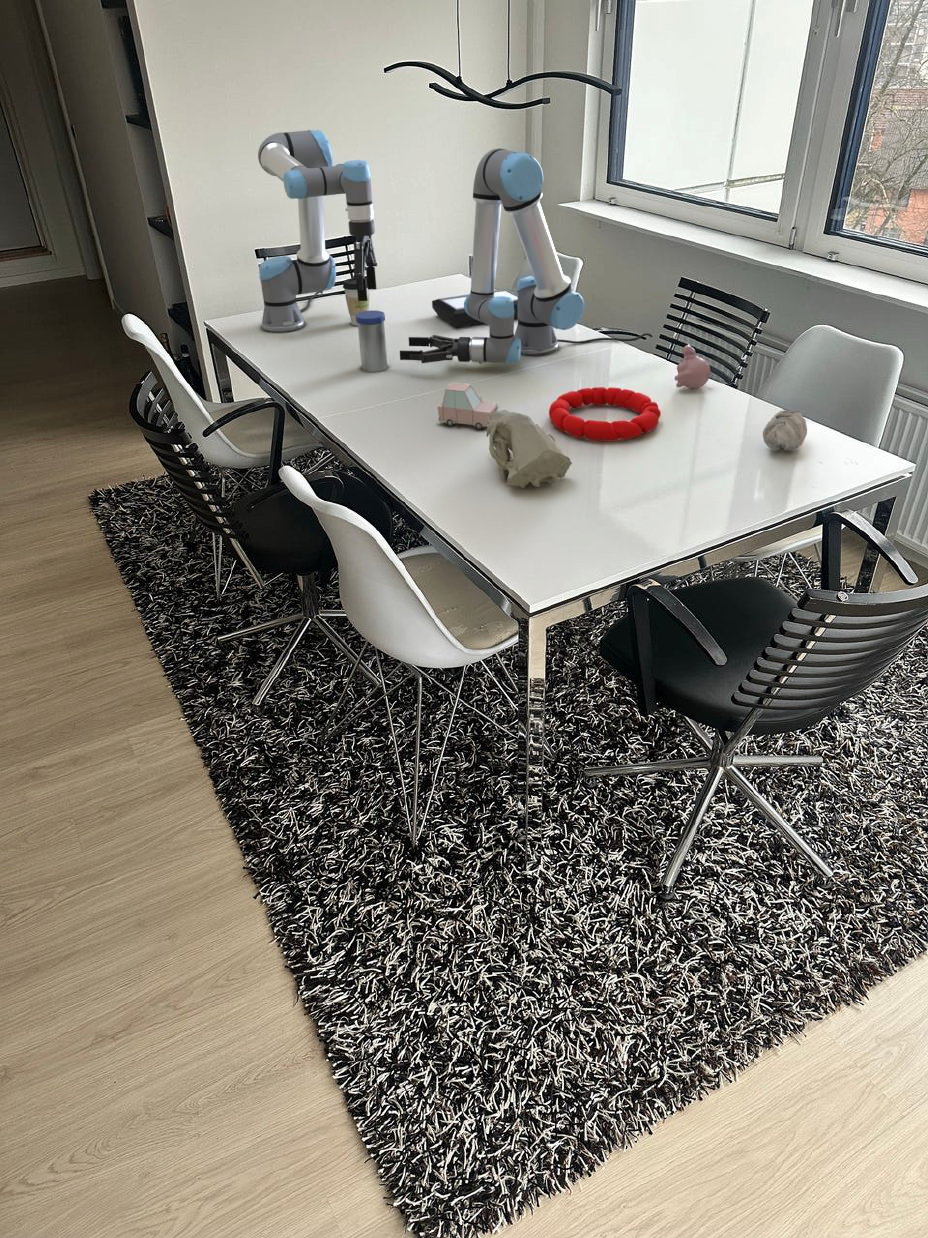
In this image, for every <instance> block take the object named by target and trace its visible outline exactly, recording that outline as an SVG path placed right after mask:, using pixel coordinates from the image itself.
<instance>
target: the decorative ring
mask: <svg viewBox="0 0 928 1238" xmlns="http://www.w3.org/2000/svg"><path fill="white" fill-rule="evenodd" d="M583 405H584V406H586V407H587V406H591V405H593V406H604V405H608V406H614V407H619V408H624V409H628V410H632V411H635V412H636V413H638V414H639V415H637V416H635V417H632V418H631V419H630V420H625V419H624V420H623V419H622V420H614V421H611V422H609V421H607V420H606V421H605V420H593V419H587V420H586V421H585V419H584V418H582V417H579V416H577V415H573V414H571V413H570V410H571V409H579V408H581V407H582V406H583ZM548 416H549V419H550V422H551V423H552V425H553V426H554V427H555V428H556V429H558V430H559V431H561V432H563V433H567V434H568V435H569V436H573V437H576V438H580V439H582V438H583V437H585V438H586V439H587V440H591V441H601V442H602V441H603V442H608V441H609V442H610V441H611V442H612V441H615V442H616V441H618V440H630V439H634V438H638V437H641V436H642V434H647V433H650V432H651V431H653V430H654V429H655V428H656V427H657V426H658V424H659V422H660V421H659V420H660V417H661V410H660V408H659V405H658V403H657V402H656V401H652V399H651V397H649V396H648V395H646V394H644V393H642V392H635V391H634V390H632V389H628V388H624V389H622V388H620V387H613V386H612V387H611V386H610V387H608V388H606V387H604V386H594V387H585V388H584V387H583V388H580V389H578V390H571V391H568V392H565V393H563V394H561V395H560V396H558V397H557V398H556V400H554V401H552V403H551V404H550V407H549V409H548Z"/></svg>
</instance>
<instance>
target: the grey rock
mask: <svg viewBox="0 0 928 1238" xmlns="http://www.w3.org/2000/svg"><path fill="white" fill-rule="evenodd" d="M485 436H486V438H487V437H489V438H488V440H489V444H488V445H489V446H488V450H489V454H490V456H491V457H492V458H493V459H494V460H495V462H496V464H497V466H499V468H500V470H501V471H502V472H501V478H502V479H507V480H506V484H507V486H517V487H518V486H519V488H523V489H524V488H526V486H527V485H529V483H531V485H533V486H534V487H536V488H540V485H541V484H542V482H544V483H549V484H550V485H553V484H555V483H556V482H557V480H561V479H563V478H565V476H566V474H567V472H568V471H569V469H570V467H571V466H572V464H573V462H572V461H571V458H570V457H568V456H567V455H565V453H564V451H562V449H561V448H560V446H559V444H557V443H556V439H555V438H554V436H553V435H551V434H550V433H548V432H547V431H546V430H545V429H544V428H542V427H541V426H539V425H538V424H537V423H536V424H535V422H534V421H533V419H532V418H531V417H530V416H529V415H527V414H524V413H519V412H515V411H509V410H507V409H502V410H500V411H499V410H497V411H496V412H492V413H491V414H490V422H488V423H487V427H486V435H485ZM511 453H512V454H511ZM511 455H512V457H513V458H512V460H511ZM507 474H508V475H507Z"/></svg>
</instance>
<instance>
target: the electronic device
mask: <svg viewBox="0 0 928 1238" xmlns="http://www.w3.org/2000/svg"><path fill="white" fill-rule="evenodd" d="M469 294H470V293H469ZM469 294H468V293H467V294H462V295H455V296H448V297H442V298H437V299H433V300H431V307H432V309H433V311H434V312H435V314H436V315H437V317H439V318H441V319H442V320H444V321H445V322H447V323H449V324H450V325H452V326H454V327H455V328H456V329H457V328H461V327H467V326H473V325H480V324H484V323H483V322H481V321H479V320H476V319H474V318H472V317H471V316H469V315H468V314H467V313H466V312H465V309H464V301H465V299H466V297H467V296H468V295H469ZM497 296H505V297H510V298H512V299H513V302H514V319H518V292H516V291H514V290H511V289H509V288H503V289H494V297H497Z"/></svg>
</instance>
